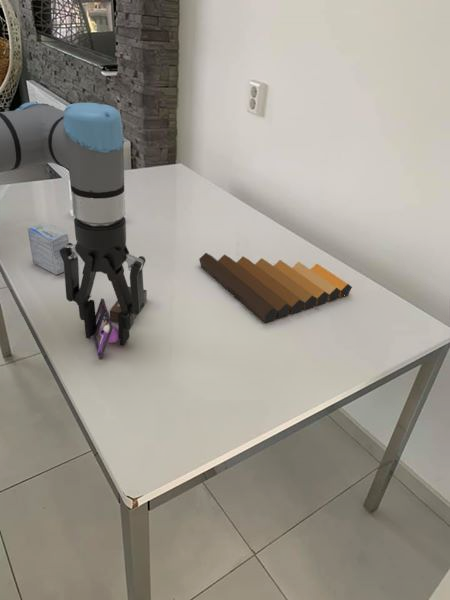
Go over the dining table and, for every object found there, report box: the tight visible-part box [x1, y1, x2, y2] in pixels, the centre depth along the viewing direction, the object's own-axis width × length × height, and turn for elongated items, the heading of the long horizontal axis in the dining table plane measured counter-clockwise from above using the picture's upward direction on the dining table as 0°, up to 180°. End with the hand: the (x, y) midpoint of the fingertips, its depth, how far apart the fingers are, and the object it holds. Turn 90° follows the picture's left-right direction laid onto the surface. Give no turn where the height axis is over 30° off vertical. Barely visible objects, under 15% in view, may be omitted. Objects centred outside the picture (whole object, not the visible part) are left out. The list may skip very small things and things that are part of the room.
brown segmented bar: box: [109, 286, 148, 324], centre depth 88 cm, size 4×9×3 cm, turn 168°
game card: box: [92, 298, 119, 360], centre depth 79 cm, size 7×5×9 cm
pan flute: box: [198, 252, 353, 324], centre depth 103 cm, size 25×3×25 cm
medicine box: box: [27, 222, 70, 276], centre depth 98 cm, size 8×4×9 cm, turn 56°
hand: (107, 337), depth 80 cm, fingers closed on game card, 6 cm apart
